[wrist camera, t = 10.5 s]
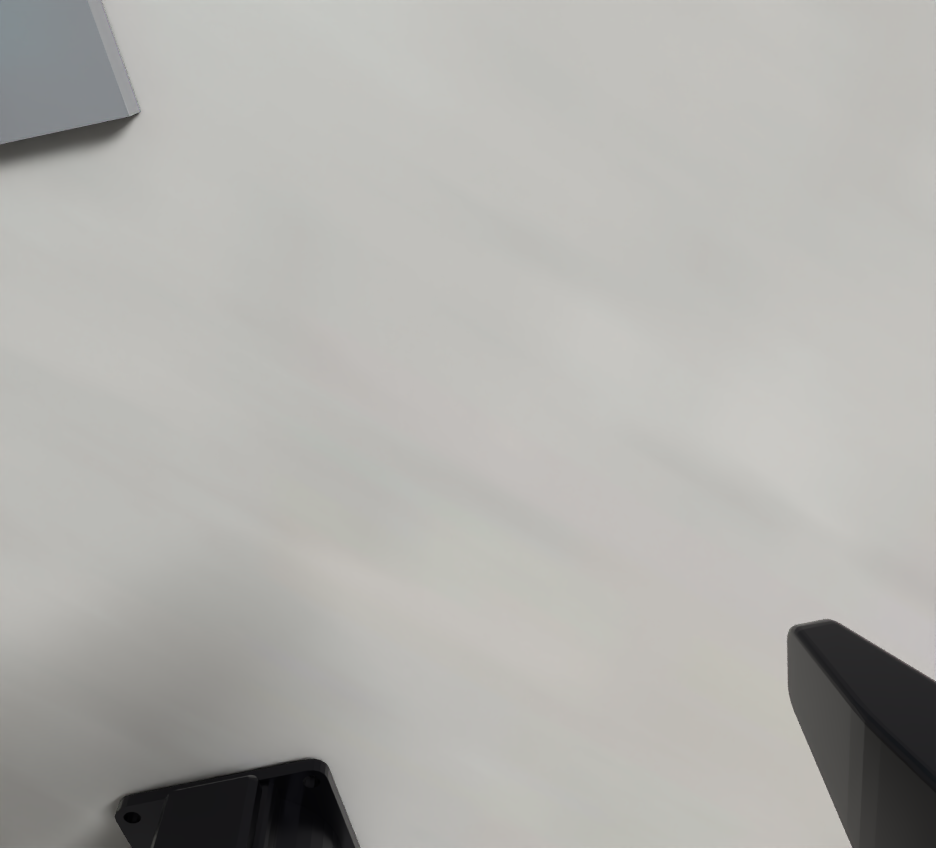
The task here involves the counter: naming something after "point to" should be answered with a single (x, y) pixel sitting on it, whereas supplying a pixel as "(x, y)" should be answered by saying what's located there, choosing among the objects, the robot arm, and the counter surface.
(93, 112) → the coaster
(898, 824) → the robot arm
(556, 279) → the counter surface
